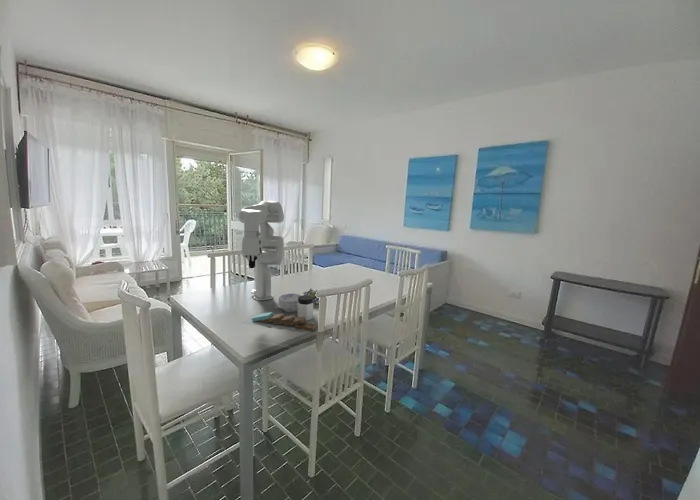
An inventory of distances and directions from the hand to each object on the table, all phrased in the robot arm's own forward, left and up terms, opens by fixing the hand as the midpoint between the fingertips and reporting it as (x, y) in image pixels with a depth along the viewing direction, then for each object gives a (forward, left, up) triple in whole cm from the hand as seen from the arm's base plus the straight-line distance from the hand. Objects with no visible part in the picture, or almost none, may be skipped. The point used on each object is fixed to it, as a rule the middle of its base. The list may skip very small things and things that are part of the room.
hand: (252, 267), depth 156 cm
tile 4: (+23, -6, -26) cm, 35 cm away
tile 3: (+17, -6, -26) cm, 32 cm away
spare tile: (+5, -6, -26) cm, 27 cm away
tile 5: (+29, -6, -26) cm, 39 cm away
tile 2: (+11, -6, -26) cm, 29 cm away
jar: (+29, +6, -27) cm, 40 cm away
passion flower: (+25, +28, -27) cm, 47 cm away
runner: (+16, -6, -27) cm, 32 cm away
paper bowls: (+17, +15, -27) cm, 36 cm away
